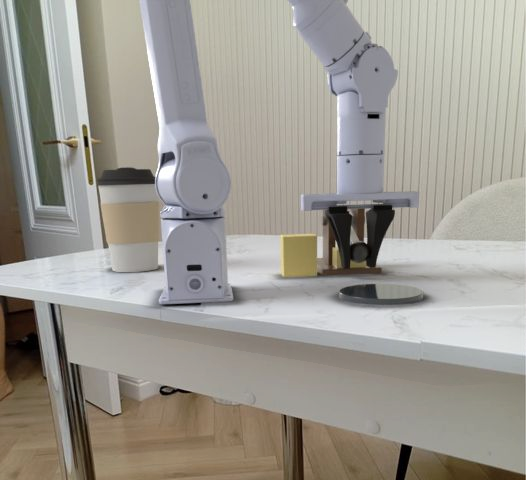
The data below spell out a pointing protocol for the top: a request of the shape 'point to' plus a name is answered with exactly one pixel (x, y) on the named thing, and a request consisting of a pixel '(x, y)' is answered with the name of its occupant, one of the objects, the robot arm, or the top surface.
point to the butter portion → (298, 255)
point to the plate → (381, 294)
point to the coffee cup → (130, 218)
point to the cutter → (329, 242)
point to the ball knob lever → (357, 246)
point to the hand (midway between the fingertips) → (358, 267)
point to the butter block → (337, 261)
